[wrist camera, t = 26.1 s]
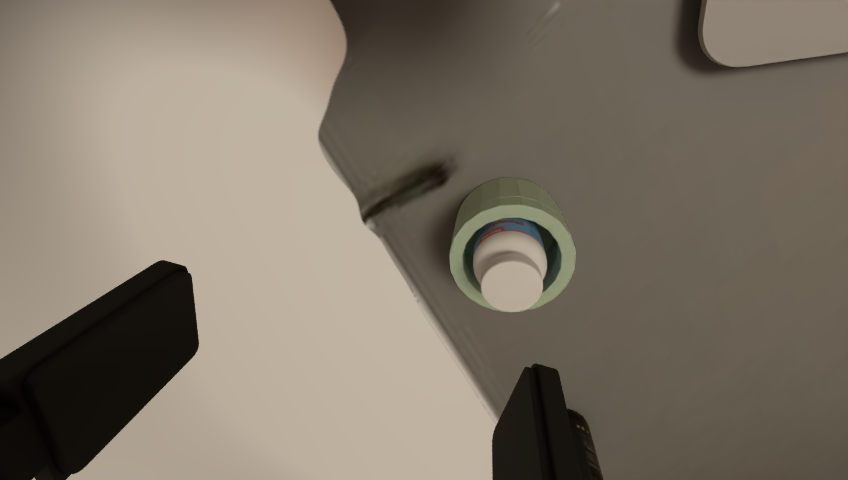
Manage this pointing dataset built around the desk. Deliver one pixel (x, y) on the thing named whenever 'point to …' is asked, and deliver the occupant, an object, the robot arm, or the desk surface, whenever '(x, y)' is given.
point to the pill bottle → (510, 263)
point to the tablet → (771, 30)
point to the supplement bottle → (586, 442)
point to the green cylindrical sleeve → (512, 202)
